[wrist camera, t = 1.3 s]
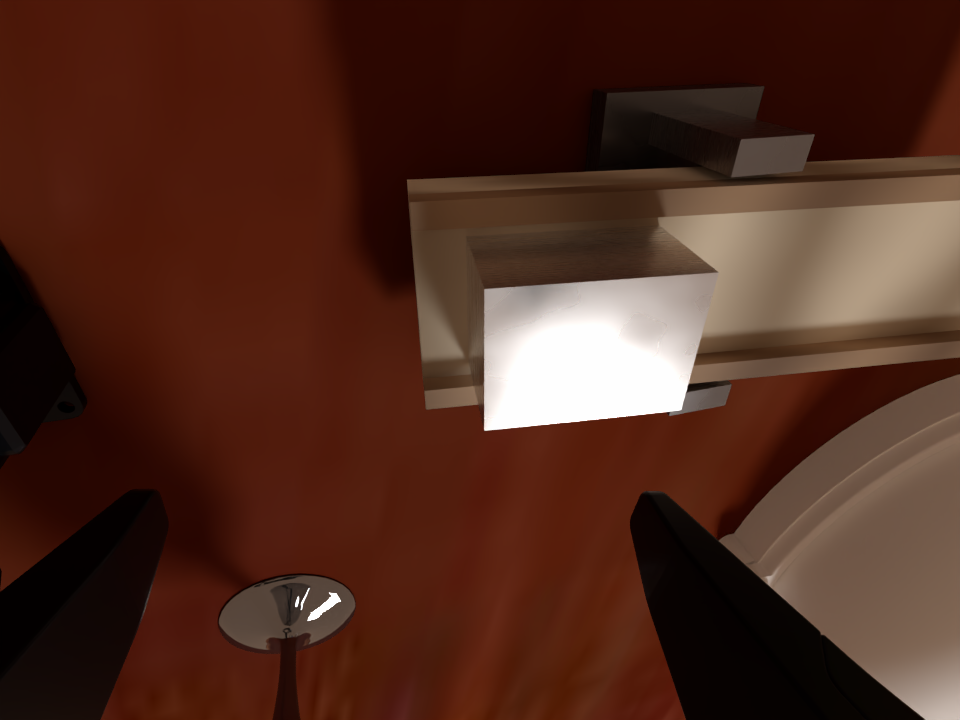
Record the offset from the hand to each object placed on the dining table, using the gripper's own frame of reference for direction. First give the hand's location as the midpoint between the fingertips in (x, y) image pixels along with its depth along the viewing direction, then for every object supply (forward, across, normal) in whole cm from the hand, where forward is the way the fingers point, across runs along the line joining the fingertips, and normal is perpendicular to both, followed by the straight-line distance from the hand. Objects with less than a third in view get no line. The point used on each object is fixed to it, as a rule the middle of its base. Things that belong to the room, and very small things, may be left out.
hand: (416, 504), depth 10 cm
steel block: (+8, -5, 0) cm, 9 cm away
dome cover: (+17, -38, +22) cm, 47 cm away
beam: (+11, -12, -1) cm, 16 cm away
